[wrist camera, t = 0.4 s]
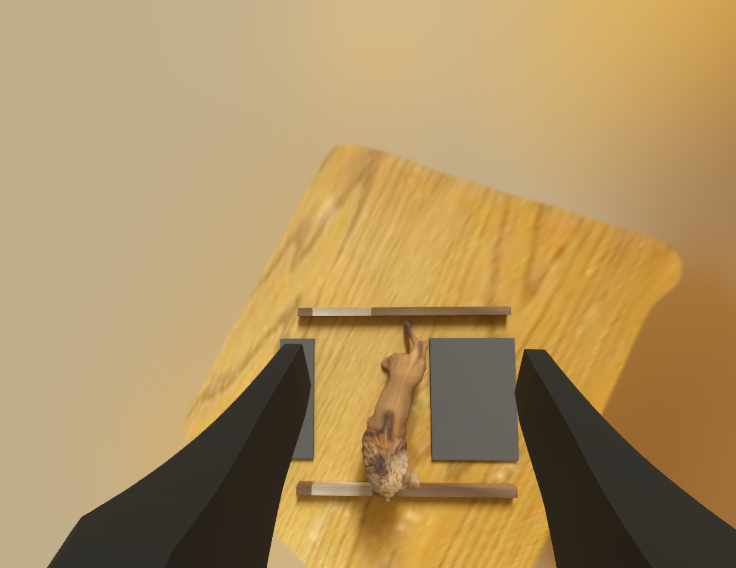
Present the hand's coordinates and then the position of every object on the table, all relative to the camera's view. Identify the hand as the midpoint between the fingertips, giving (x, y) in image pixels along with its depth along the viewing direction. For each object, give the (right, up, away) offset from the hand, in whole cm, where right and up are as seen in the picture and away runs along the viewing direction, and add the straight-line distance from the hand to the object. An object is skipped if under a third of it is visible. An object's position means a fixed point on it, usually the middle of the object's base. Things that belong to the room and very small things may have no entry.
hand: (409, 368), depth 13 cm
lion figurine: (+2, -9, +27) cm, 28 cm away
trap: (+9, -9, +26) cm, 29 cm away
